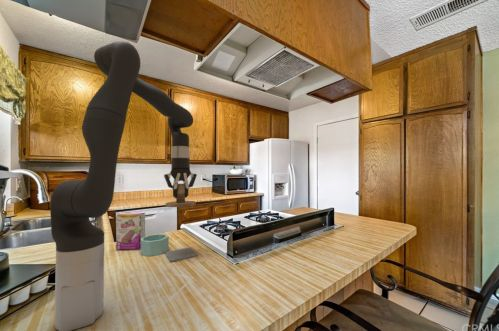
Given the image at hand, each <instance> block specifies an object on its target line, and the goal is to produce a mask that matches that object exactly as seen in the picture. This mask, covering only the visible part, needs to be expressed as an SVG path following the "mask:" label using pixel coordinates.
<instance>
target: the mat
mask: <svg viewBox="0 0 499 331" xmlns="http://www.w3.org/2000/svg"><path fill="white" fill-rule="evenodd" d="M165 256H166V258H167V260H168V261H169V263H173V262H178V261H183V260H188V259H192V258H196V257H197V258H198V256H199V254H197V253H196V251H195V250H194V249H193V248H192V247H191V246H190V247H184V248H179V249H173V250H168V251H166V252H165Z"/></svg>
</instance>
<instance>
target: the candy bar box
mask: <svg viewBox="0 0 499 331" xmlns="http://www.w3.org/2000/svg"><path fill="white" fill-rule="evenodd" d="M115 225H116V231H115V233H116V234H115V235H116V237H115V238H116V240H115V242H116V243H115V250H116V251H124V250H125V251H127V250H126V249H134V250H136V251H137V250H139V251H140V242H141V238H143V237H145V236H146V212H143V211H142V212H140V211H139V212H137V211H136V212H135V211H134V212H130V211H129V212H127V211H126V212H120V213H117V214H116V224H115ZM134 250H133V251H134Z"/></svg>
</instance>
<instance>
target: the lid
mask: <svg viewBox="0 0 499 331" xmlns="http://www.w3.org/2000/svg"><path fill="white" fill-rule="evenodd" d="M176 189H177V198H175V201H174V200H173V201H169V202H165V207H168V208H184V207H192V206H195V205H196V201H194V200H186V197H185V184H184V183H178V184H177V188H176Z"/></svg>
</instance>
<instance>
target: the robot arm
mask: <svg viewBox="0 0 499 331" xmlns="http://www.w3.org/2000/svg"><path fill="white" fill-rule="evenodd" d="M93 58H94V62H95V65H96V66H97V68H98V69H99V70H100V71H101V73H102V74H104V75H105V76H107V77H106V79H105V81H104V82H103V84H102V85H101V86H100V87H99V88H98V90H97V91H96V93H94V95H93V96H92V98H91V99H90V101H89V102H88V104H87V107H86V110H85V113H84V116H83V120H82V124H81V132H82V136H83V140H84V142H85V144H86V146H87V149H88V152H89V157H90V158H89V167H88V171H87V175H86V177H85V179H70V180H64V181H63V182H60V183H59V184H58V185H57V186H56V187H55V188H54V190H53V191H52V195H51V197H50V205H49V208H50V209H49V210H50V230H51V231H50V232H51V237H52V240H53V241H54V243H55V279H54V280H55V283H54V284H55V287H54V289H55V290H54V329H55V330H57V331H73V330H76V329H80V328H83V327H86V326H90V325H93V324H95V321H96V320H97V319H98V318H100V317H101V315H102V314H103V313H104V306H105V305H104V303H105V302H104V300H105V296H104V295H105V290H104V289H105V288H104V286H105V284H104V282H105V232H104V230H103V229H101V228H99V227H98V226H96V225H94V224H93V223H92V222H91V220H90V219H91V218H92V219H93V218H95V219H96V218H99V217H102V216H104V215H105V214H106V213H107V212H108V211H109V209H110V208H111V205H112V202H113V198H114V194H115V184H116V172H117V163H118V157H119V152H120V145H121V143H122V142H121V141H122V137H123V134H124V129H125V126H126V120H127V114H128V111H129V110H128V109H129V105H130V102H131V97H132V93H133V94H134V95H136V96H138V97H139V98H141V99H143V100H144V101H145V102H147V103H148V104H149V105H151V107H153V108H154V109H155V110H156V111H158V113H160V114H161V115H162V116H164V117H167V123H168V127H169V131H170V135H171V153H170V154H171V155H170V158H171V162H170V163H171V169H170V172H168V173H166V174H163V178H164V180H165V183H166V184H167V187H168V188H170V189H172V197H174V199H176V198H177V189H176V188H177V184H179V182H181V181H182V184H185V198H188V196H189V189H190V188H193V186H194V185H195V182H196V179H197V176H198V175H197V173H193V172H192V171H191V169H190V168H191V160H190V158H191V157H190V156H191V155H190V154H191V151H190V137H189V134H187V133H185V132H182V129H185V128H190V127H192V125H193V123H194V116H193V115H192V113H191V111H189V109H186V108H185V107H183V106H182V105H180V104H178V103H176V102H175V101H174V100H173V99H172V98H171V97H170V96H169V94H167V93H166V92H164V91H163V90H162V89H160V88H158V87H157V86H154V85H153V84H151V83H148V82H146V81H144V80H143V79H141V78H140V77H138V76H139V73H140V70H141V57H140V54H139V51H138V50H137V48H136V47H135V46H134V45H133V44H132V43H131V42H129V41H125V40H118V41H113V42H110V43H108V44H106V45H103V46H101V47H98V48H97V49H96V50H95V51H94V54H93ZM171 177H172V178H173V182H171V180H170V179H171ZM189 177H190V181H189V180H188V178H189Z"/></svg>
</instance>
